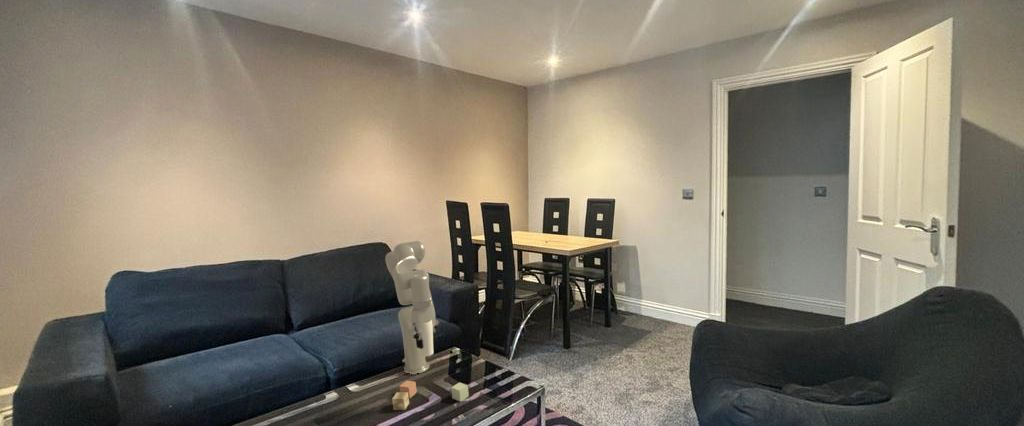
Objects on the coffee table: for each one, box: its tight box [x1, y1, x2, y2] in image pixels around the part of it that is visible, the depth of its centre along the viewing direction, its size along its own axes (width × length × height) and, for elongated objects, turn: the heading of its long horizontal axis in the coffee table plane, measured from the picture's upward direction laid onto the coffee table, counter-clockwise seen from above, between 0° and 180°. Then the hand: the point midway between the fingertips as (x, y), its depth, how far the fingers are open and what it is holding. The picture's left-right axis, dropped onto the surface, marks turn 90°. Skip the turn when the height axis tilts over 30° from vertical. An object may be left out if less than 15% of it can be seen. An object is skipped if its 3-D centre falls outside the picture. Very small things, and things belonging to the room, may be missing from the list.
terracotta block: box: [399, 380, 418, 399], centre depth 199 cm, size 5×5×5 cm
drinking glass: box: [418, 320, 435, 358], centre depth 191 cm, size 7×7×15 cm
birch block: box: [391, 391, 410, 411], centre depth 190 cm, size 5×5×5 cm
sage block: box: [450, 382, 470, 402], centre depth 193 cm, size 5×5×5 cm
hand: (426, 344), depth 191 cm, fingers closed on drinking glass, 6 cm apart
